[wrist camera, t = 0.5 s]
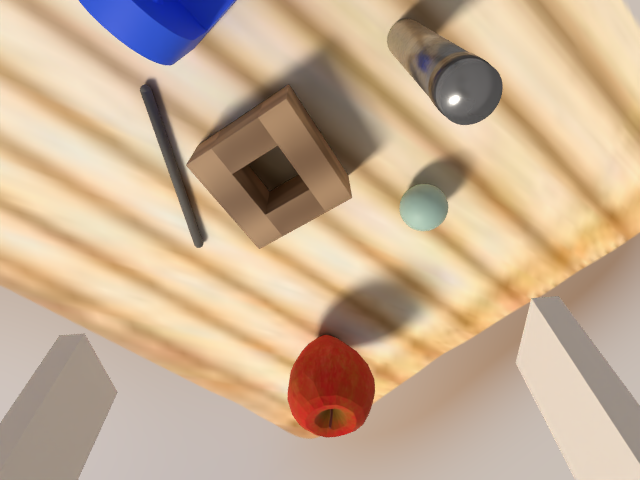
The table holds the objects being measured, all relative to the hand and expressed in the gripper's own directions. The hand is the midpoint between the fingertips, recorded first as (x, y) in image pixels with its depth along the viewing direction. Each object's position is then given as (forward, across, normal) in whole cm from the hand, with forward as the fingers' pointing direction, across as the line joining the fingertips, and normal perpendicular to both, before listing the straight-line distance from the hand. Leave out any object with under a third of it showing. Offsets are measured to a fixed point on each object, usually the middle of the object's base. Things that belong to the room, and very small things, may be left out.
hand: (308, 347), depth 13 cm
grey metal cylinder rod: (+24, +7, +5) cm, 26 cm away
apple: (+25, -1, -26) cm, 36 cm away
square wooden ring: (+24, -3, -4) cm, 25 cm away
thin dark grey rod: (+24, -12, -4) cm, 27 cm away
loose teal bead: (+24, +9, -8) cm, 27 cm away
